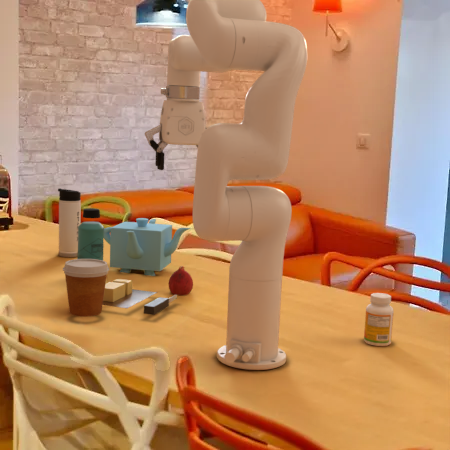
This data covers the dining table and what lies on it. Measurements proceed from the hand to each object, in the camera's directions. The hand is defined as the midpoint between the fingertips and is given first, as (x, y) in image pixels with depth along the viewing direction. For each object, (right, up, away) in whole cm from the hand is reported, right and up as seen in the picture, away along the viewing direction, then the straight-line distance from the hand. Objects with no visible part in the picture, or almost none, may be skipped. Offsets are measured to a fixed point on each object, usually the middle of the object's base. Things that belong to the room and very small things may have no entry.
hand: (180, 169), depth 172 cm
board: (-14, -31, -2) cm, 34 cm away
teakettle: (-12, -26, +32) cm, 43 cm away
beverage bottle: (-23, -29, +10) cm, 38 cm away
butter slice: (-14, -29, +2) cm, 32 cm away
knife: (-3, -32, -7) cm, 33 cm away
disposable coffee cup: (-19, -33, -15) cm, 41 cm away
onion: (0, -31, +4) cm, 31 cm away
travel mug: (-36, -22, +50) cm, 65 cm away
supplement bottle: (+41, -37, -23) cm, 59 cm away
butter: (-16, -29, -3) cm, 33 cm away
